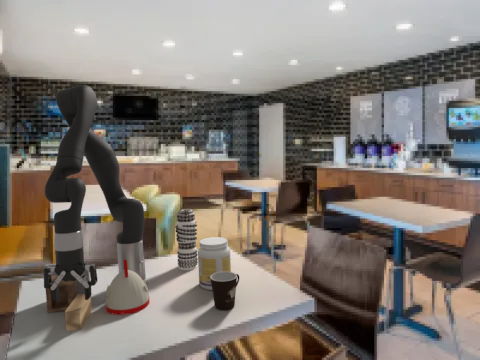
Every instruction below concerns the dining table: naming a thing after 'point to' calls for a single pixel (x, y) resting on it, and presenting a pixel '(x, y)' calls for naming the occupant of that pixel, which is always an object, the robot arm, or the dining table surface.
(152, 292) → the dining table surface
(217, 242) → the supplement tub
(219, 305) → the coffee mug
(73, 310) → the tan wooden bar
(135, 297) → the cream dome
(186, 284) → the dining table surface
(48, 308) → the block
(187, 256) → the decorative candle
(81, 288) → the wall
